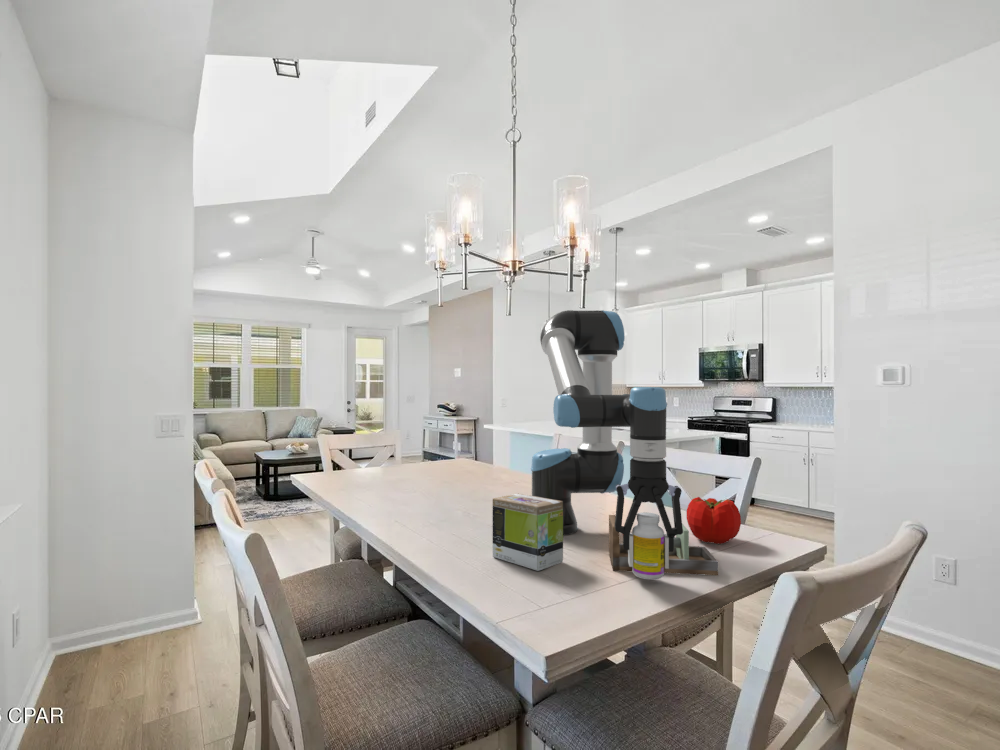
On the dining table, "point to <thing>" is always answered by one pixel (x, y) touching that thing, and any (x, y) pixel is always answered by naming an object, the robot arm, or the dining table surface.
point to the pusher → (682, 544)
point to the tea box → (528, 530)
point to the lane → (696, 564)
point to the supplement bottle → (648, 547)
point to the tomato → (713, 520)
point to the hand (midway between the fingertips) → (648, 565)
